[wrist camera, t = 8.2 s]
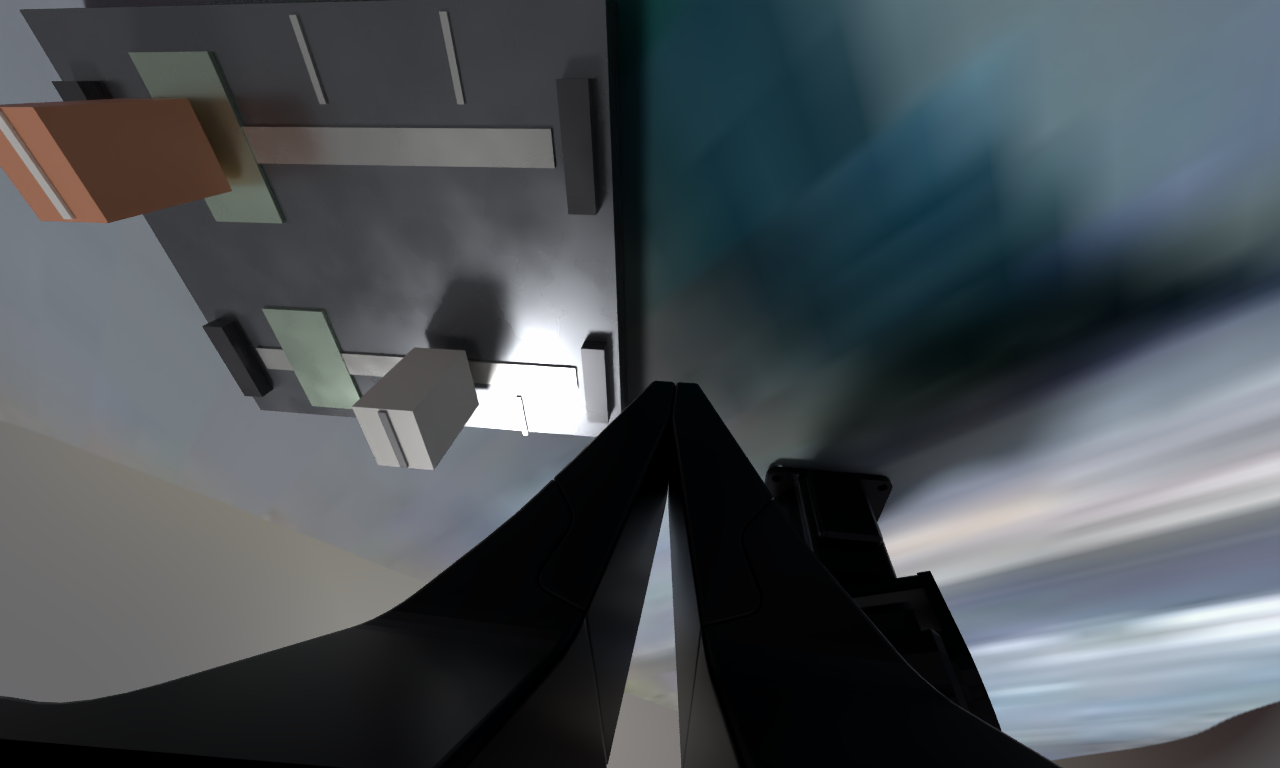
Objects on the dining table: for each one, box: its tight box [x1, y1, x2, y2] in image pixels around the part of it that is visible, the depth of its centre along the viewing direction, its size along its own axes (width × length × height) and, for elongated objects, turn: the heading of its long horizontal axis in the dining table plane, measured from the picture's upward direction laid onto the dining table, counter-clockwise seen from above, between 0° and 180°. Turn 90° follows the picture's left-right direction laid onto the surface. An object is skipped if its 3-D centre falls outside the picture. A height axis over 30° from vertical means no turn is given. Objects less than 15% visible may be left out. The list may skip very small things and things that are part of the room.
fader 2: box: [352, 347, 479, 470], centre depth 19 cm, size 3×2×4 cm
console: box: [20, 0, 628, 437], centre depth 20 cm, size 17×20×3 cm
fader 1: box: [0, 98, 232, 223], centre depth 15 cm, size 3×2×4 cm
